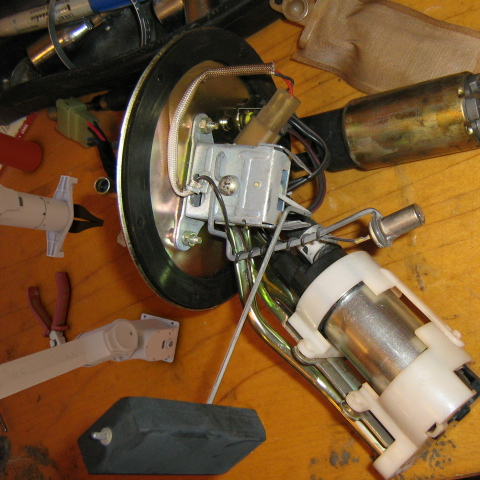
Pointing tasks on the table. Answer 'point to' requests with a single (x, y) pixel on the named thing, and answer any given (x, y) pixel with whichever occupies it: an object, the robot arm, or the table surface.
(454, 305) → the table surface
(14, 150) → the red cylinder
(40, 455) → the table surface
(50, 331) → the pliers
